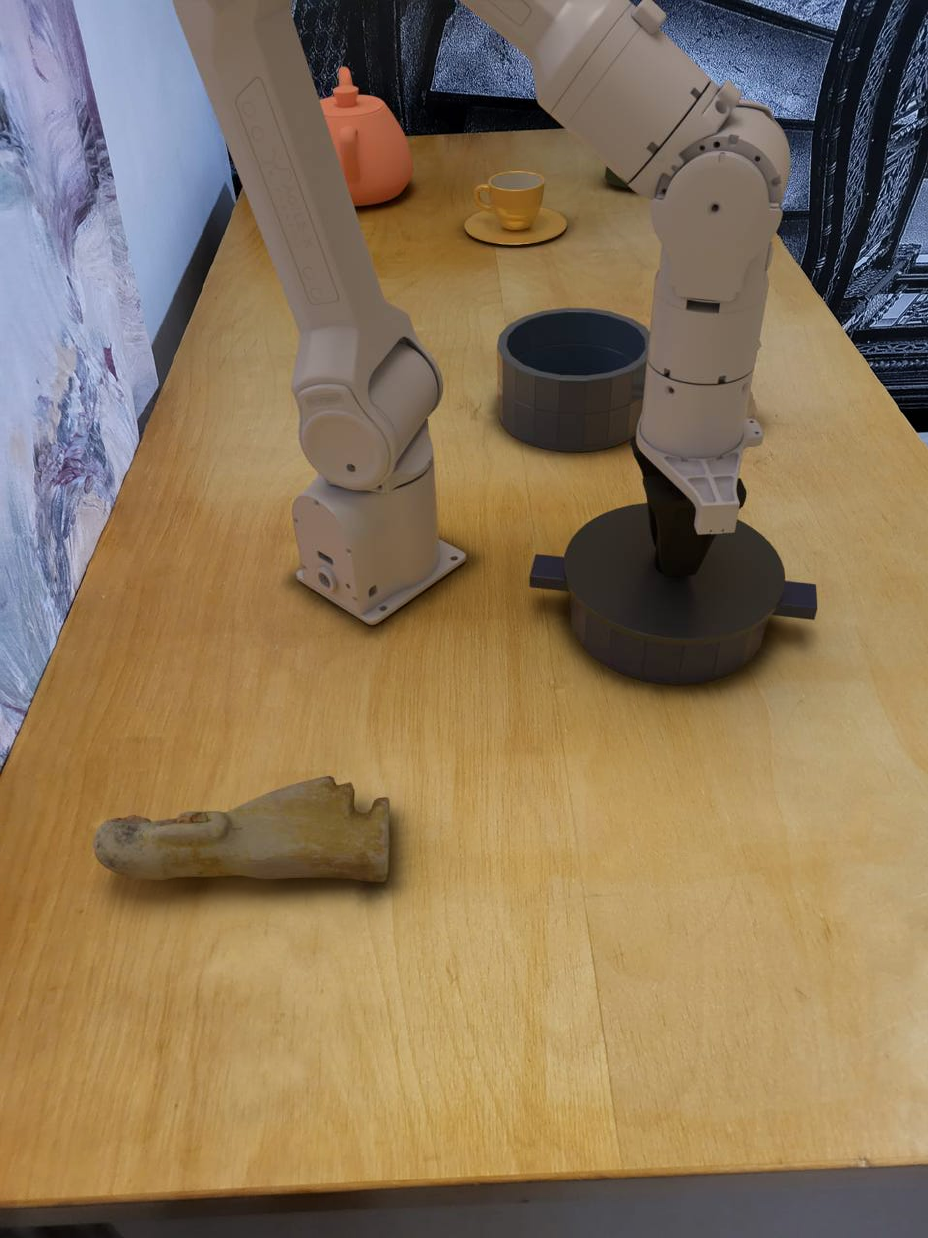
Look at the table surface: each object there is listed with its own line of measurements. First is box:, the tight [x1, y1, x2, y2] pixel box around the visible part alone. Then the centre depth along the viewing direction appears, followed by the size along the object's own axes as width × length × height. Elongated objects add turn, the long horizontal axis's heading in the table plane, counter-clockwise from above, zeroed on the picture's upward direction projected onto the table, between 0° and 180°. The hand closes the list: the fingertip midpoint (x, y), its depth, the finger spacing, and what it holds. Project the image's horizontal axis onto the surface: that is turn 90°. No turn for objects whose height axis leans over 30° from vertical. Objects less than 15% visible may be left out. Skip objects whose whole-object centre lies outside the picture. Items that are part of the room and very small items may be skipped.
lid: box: [563, 502, 786, 645], centre depth 63 cm, size 14×14×5 cm
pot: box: [496, 307, 650, 453], centre depth 84 cm, size 13×13×6 cm
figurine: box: [92, 775, 391, 883], centre depth 52 cm, size 5×5×15 cm
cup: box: [464, 170, 568, 245], centre depth 116 cm, size 12×12×5 cm
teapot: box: [319, 66, 414, 207], centre depth 125 cm, size 22×15×12 cm
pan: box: [528, 553, 818, 686], centre depth 65 cm, size 13×18×4 cm
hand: (674, 557), depth 63 cm, fingers closed on lid, 2 cm apart
